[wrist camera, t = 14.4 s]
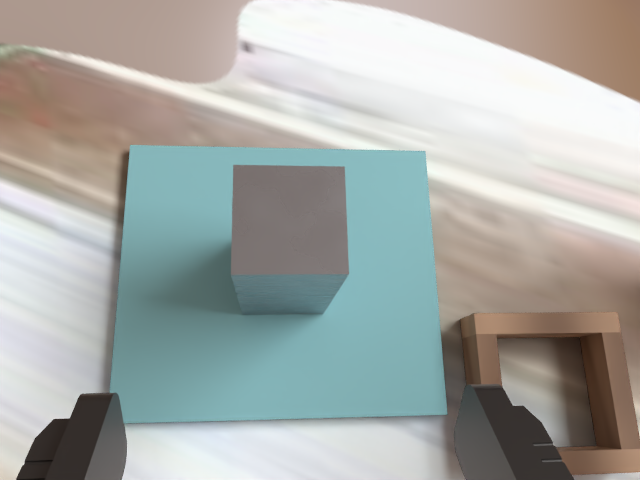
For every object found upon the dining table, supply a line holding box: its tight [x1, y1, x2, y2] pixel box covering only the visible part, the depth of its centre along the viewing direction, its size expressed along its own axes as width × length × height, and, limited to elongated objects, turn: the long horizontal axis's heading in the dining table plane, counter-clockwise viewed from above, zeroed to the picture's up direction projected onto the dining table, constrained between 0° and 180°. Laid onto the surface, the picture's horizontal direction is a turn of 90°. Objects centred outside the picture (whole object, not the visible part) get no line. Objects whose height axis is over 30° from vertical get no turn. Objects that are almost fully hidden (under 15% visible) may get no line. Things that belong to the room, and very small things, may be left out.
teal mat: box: [110, 145, 448, 423], centre depth 28 cm, size 16×14×1 cm
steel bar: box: [231, 165, 349, 315], centre depth 23 cm, size 4×4×9 cm
